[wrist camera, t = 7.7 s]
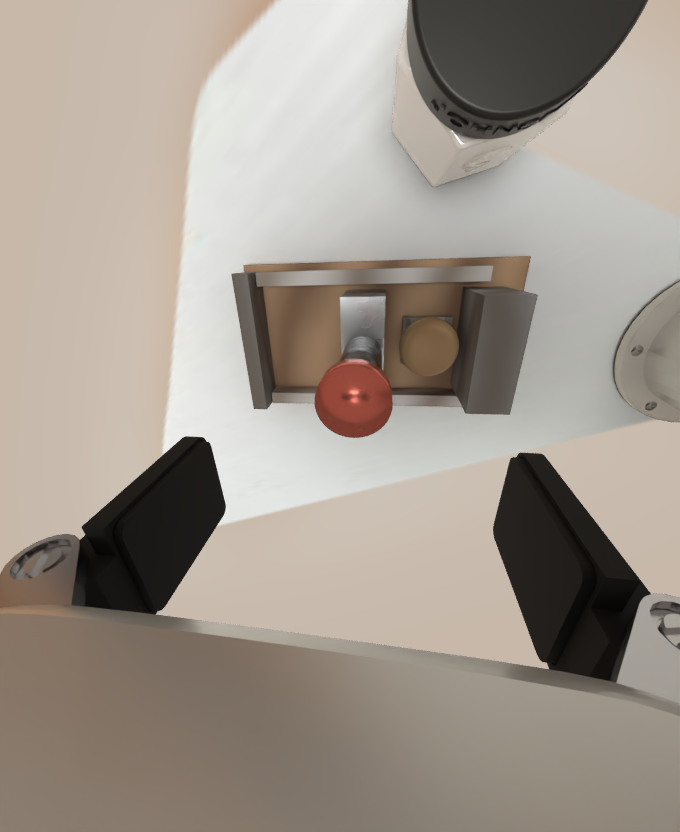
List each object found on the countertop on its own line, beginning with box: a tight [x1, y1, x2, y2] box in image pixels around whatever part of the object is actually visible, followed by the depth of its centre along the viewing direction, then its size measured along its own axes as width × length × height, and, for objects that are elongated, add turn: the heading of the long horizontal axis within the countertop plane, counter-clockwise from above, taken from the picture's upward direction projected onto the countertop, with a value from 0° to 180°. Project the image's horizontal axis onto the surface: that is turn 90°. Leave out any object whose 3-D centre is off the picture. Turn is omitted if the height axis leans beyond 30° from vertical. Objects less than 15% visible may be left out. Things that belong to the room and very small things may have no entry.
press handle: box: [315, 289, 393, 438], centre depth 21 cm, size 4×8×13 cm, turn 2°
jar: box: [392, 0, 648, 186], centre depth 16 cm, size 9×8×12 cm
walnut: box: [399, 317, 459, 376], centre depth 24 cm, size 4×4×4 cm
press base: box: [232, 256, 537, 415], centre depth 25 cm, size 22×12×7 cm, turn 92°
